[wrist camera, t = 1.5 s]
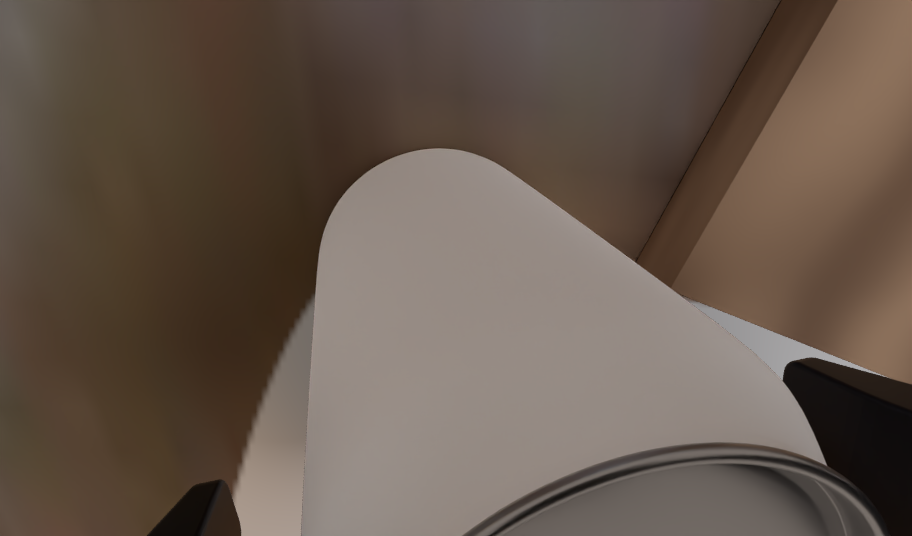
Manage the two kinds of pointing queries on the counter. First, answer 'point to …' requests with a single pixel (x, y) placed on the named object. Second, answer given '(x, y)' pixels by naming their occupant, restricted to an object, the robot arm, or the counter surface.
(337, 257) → the can
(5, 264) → the counter surface
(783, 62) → the base
